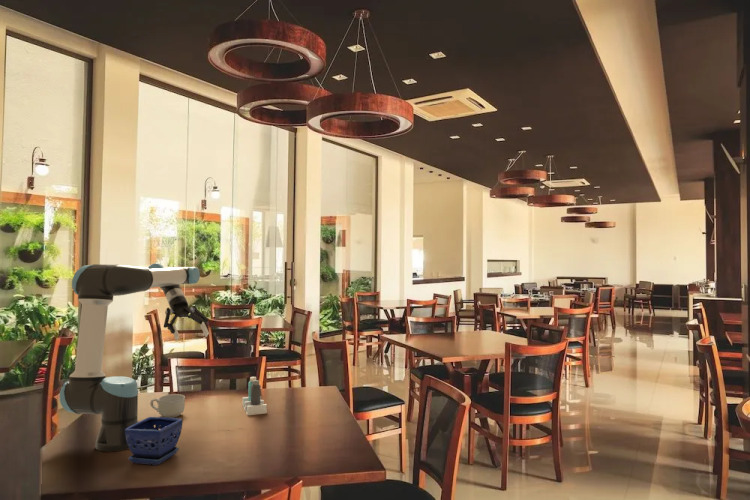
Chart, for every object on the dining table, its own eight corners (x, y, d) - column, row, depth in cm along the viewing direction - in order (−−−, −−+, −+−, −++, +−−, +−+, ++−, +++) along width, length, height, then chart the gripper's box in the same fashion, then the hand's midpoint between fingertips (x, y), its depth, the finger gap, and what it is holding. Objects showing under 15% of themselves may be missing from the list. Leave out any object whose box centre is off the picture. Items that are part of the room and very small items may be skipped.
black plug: (261, 412, 222) (261, 381, 222) (251, 413, 220) (251, 382, 221) (259, 409, 225) (259, 379, 226) (250, 410, 224) (250, 380, 224)
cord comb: (266, 415, 220) (266, 404, 220) (247, 417, 217) (247, 406, 217) (260, 405, 235) (260, 395, 235) (242, 407, 232) (242, 397, 232)
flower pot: (160, 468, 164) (160, 430, 164) (123, 465, 166) (123, 428, 166) (183, 453, 177) (184, 418, 177) (149, 450, 179) (149, 416, 179)
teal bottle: (258, 407, 229) (258, 377, 229) (248, 408, 227) (249, 378, 227) (256, 405, 232) (257, 376, 233) (247, 406, 231) (247, 376, 231)
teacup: (189, 412, 225) (189, 394, 225) (177, 420, 214) (177, 400, 214) (158, 412, 226) (158, 393, 227) (145, 419, 216) (145, 400, 216)
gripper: (199, 304, 248) (215, 339, 237) (147, 308, 230) (161, 345, 219) (205, 293, 245) (221, 328, 234) (152, 296, 226) (167, 334, 216)
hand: (192, 336), depth 227 cm, fingers open, 13 cm apart
